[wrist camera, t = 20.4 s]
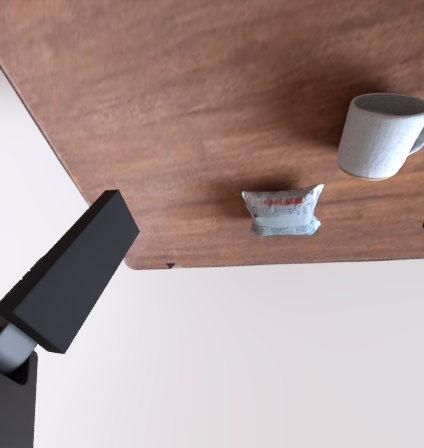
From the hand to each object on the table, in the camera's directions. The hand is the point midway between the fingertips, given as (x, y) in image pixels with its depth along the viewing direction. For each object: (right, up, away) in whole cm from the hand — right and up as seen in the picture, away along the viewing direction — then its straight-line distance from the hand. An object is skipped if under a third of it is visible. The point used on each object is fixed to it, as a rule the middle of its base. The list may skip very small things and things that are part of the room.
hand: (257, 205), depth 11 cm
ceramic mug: (+19, +12, +21) cm, 31 cm away
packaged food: (+10, +3, +31) cm, 33 cm away
